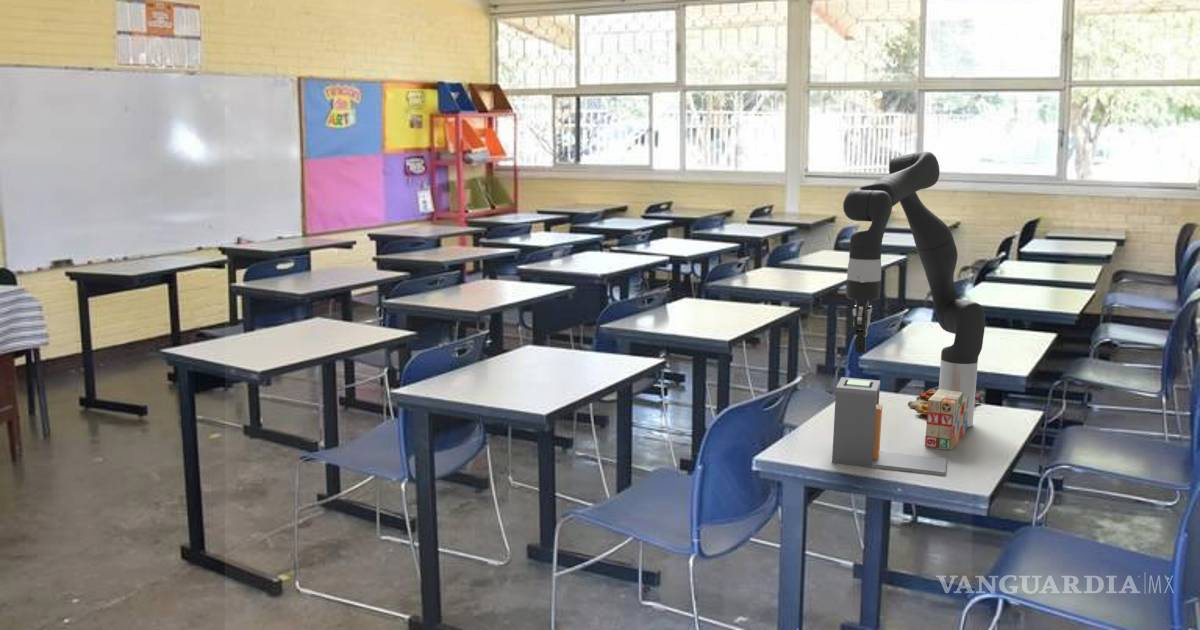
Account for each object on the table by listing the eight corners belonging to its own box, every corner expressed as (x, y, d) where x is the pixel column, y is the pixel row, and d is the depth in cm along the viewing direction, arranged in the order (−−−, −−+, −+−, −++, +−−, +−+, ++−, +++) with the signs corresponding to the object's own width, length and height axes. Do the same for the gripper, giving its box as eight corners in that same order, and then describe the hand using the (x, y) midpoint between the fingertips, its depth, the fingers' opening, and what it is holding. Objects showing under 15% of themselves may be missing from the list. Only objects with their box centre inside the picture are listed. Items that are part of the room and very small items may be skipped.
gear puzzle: (951, 422, 275) (952, 408, 274) (892, 414, 284) (893, 399, 283) (985, 399, 299) (985, 385, 299) (929, 392, 309) (930, 378, 308)
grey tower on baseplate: (837, 449, 250) (841, 377, 247) (946, 461, 241) (951, 386, 238) (831, 462, 239) (836, 387, 236) (945, 475, 231) (951, 397, 228)
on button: (847, 399, 244) (848, 379, 243) (869, 402, 242) (870, 381, 241) (845, 404, 239) (846, 383, 238) (867, 407, 238) (868, 385, 237)
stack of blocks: (942, 427, 272) (945, 381, 270) (967, 430, 269) (970, 384, 267) (924, 447, 253) (927, 398, 251) (950, 451, 250) (954, 402, 248)
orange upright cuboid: (844, 450, 246) (847, 400, 244) (879, 454, 243) (882, 403, 241) (842, 455, 242) (845, 405, 239) (877, 459, 239) (881, 408, 237)
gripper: (850, 273, 243) (846, 345, 246) (844, 280, 231) (840, 356, 234) (883, 275, 241) (879, 348, 244) (878, 282, 228) (874, 359, 231)
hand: (860, 352), depth 239 cm, fingers closed
